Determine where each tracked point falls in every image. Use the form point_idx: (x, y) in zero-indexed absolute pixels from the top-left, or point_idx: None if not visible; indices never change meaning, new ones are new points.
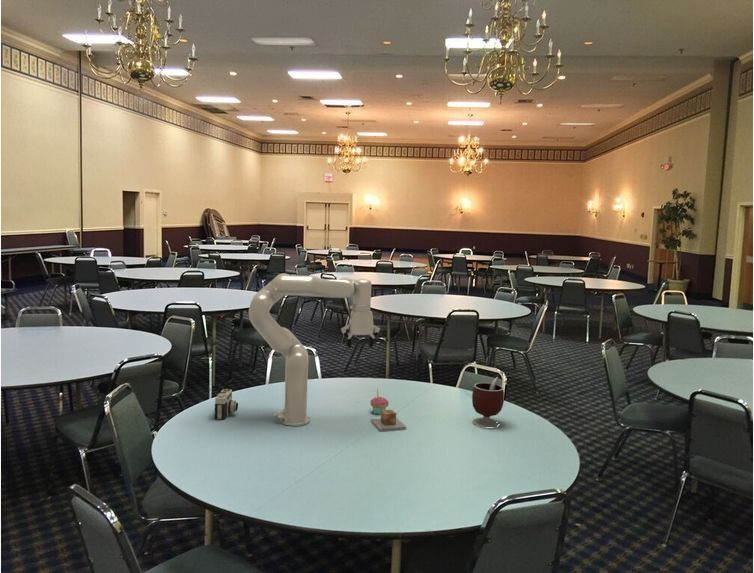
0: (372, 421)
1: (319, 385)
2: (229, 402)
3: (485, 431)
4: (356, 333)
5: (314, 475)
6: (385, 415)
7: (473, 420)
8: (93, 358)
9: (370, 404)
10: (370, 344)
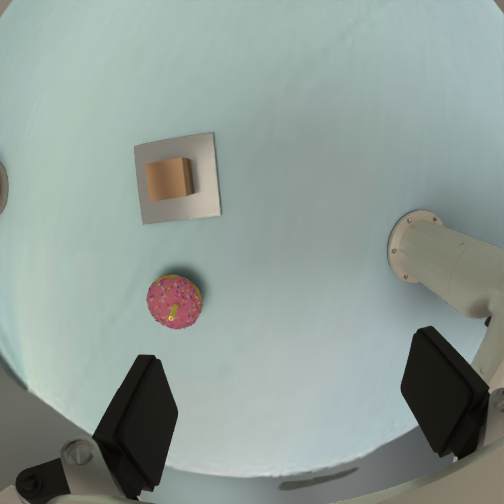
0: (219, 198)
1: (287, 453)
2: None
3: (4, 144)
4: (497, 470)
5: None
6: (182, 157)
7: (3, 201)
8: None
9: (202, 301)
10: (153, 390)
